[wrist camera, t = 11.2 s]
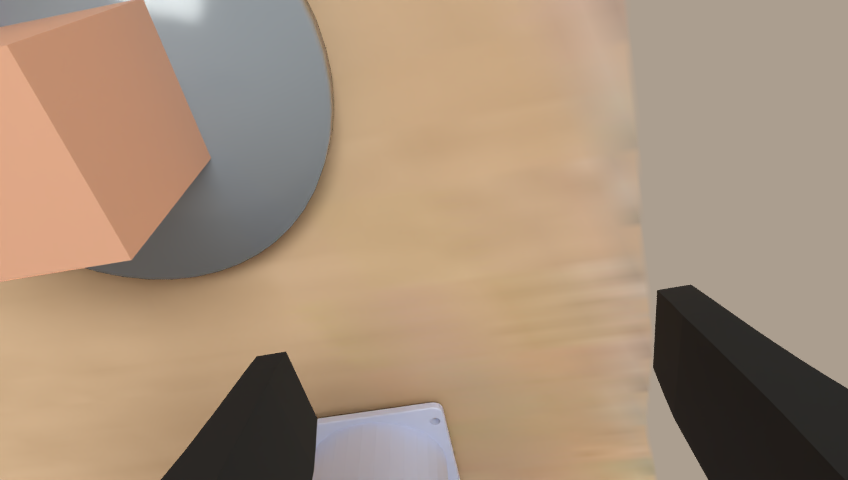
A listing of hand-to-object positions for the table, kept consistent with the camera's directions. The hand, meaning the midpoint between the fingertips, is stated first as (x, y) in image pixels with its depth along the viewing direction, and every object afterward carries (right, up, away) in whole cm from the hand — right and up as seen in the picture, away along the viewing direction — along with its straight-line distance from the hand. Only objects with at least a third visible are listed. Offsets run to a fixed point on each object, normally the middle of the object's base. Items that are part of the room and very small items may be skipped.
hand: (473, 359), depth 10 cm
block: (-11, +7, +6) cm, 14 cm away
